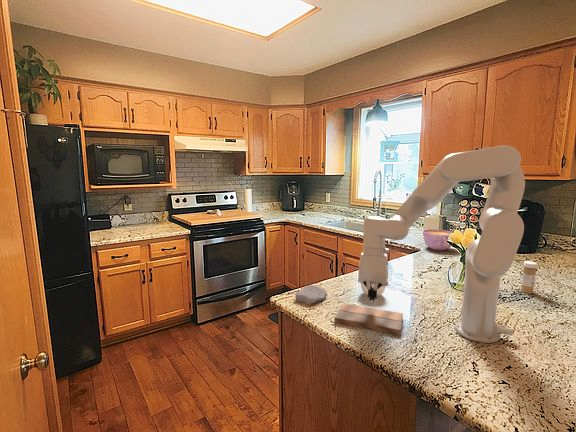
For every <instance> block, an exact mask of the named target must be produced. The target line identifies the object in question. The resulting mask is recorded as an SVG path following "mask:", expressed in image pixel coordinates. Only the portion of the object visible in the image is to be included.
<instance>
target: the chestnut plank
mask: <svg viewBox="0 0 576 432" xmlns="http://www.w3.org/2000/svg"><path fill="white" fill-rule="evenodd" d="M338 310H340V311H346V312H351V313H357V314H362V315H368V316H373V317H379V318H385V319H390V320H396V321H401V322H402V323H403V318H404V317H403V316H404V313H403V312H399V311H398V312H396V311H392V310H385V309H380V308H373V307H366V306H362V305H356V304H350V303H344V302H342V303H341V305H340V307H339V309H338Z"/></svg>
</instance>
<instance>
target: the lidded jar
mask: <svg viewBox="0 0 576 432" xmlns="http://www.w3.org/2000/svg"><path fill="white" fill-rule="evenodd" d="M374 285H375V282H371V286H372V288H373V287H374ZM386 287H387V286H381V287H380V288H379V289H377V298H380V296H381V295H382V294H384V292H385V290H386ZM360 288H361V291H362V292H363V294H365V296H367V297H368V289H367V287H366V286H365V285H364V284H362V283H360Z"/></svg>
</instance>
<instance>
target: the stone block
mask: <svg viewBox="0 0 576 432" xmlns="http://www.w3.org/2000/svg"><path fill="white" fill-rule="evenodd" d="M327 295H328V291H327V290H325V289H324V288H323V287H320V286H317V285H314V284H309V285H308V284H307V286H305V287H304V288H302V290H300V291H298V290H297V291H296V293H295V300H296V302H299V303H304V304H306V305H309V306H310V305H313V304H315V303H319V302H322V301H325V300H326V298H327Z"/></svg>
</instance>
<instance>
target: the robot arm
mask: <svg viewBox="0 0 576 432" xmlns="http://www.w3.org/2000/svg"><path fill="white" fill-rule="evenodd" d="M521 163H522V156H521V153H520V151H519V150H518V149H517V148H515V147H514V146H511V145H508V144H507V145H496V146H492V147H491V146H490V147H485V148H480V149H474V150H469V151H462V152H455V153H454V152H453V153H450V154H448V155H446V156H444V158H442V159H441V160H440V161H439V163H437V164H436V166H434V168H433V169H432V170H431V171H430V172H429V173H428V175H427V176H426V177H425V178H424V179H423V180H422V182H421V181H420V183H419V184H418V185H417V186H416V187H415V189H414V190H413V191H412V192H411V194H410V196H409V197H408V198H407V199H406V200H405V201H404V202H403V203H402V204H401V205H400V206H399V208H398V209H397V210H396V211H395V212H394V213H393V214H392V216H390V217H389V218H386V219H385V218H384V217H383V216H379V215H378V216H376V215H368V216H365V217H364V219H363V237H362V238H363V239H362V240H363V242H362V252H361V253H360V257H359V263H358V279H357V282H358V283H360V284H361V283H362V284H364V285H365V286H366V287H367V289H368V296H367V298H368V299H369V301H372V302H374V301H375V299H377V298H378V297H377V289H379V288H380V287H381V286H386V287H387V286H388V285H389V281H388V279H389V261H388V254H387V253H390V248H387V247H386V239H387V240H392V241H402V240H404V239H406V237H407V236H408V234H409V231H410V228H411V227H412V226H413V225H414V224H415V223H416V222H417V221H418V220H419V219H420V218H421V217H422V216H423V215H424V214H425V213H427V212H428V211H429V210H432V209H434V208H435V207H436V206H438V204H440V203H441V202H442V200H444V198H445V197H446V196H448V194H449V193H450V192H452V190H453V189H454V188H455V187H456V186H457V185H458V184H459V183H460V182H469V181H476V180H477V181H478V180H479V181H480V180H483V179H489V181H490V188H489V190H488V194H487V198H486V200H485V204H484V206H483V209H482V211H481V214H480V216H479V220H478V225H479V228H480V230H481V231H482V232H481V234H480V237H479V238H477V239H474V240H472V241H471V242H470V243H469V244H468V246H467V247H466V249H465V268H464V269H465V270H464V271H465V272H464V284H463V285H464V286H463V295H462V307H461V316H460V317H461V318H460V321H456V323H455V324H454V329H455V331H456V333H458V334H459V335H460V336H463V337H464V338H466V339H468V340H470V341H473V342H477V343H484V344H494V343H496V342H498V341H500V338H501V334H502V335H508V336H513V335H514V330H513V329H512V328H507V326H506V325H504V324H498V323H497V322H496V320H497V310H498V301H499V292H500V284H501V283H500V282H501V277H503V276H504V275H505V274H507V273H508V271H509V270H510V268H511V266H512V265H513V262H514V260H515V258H516V255H517V252H518V249H519V247H520V244H521V242H522V239H523V236H524V231H525V224H524V221H523V219H522V217H521V216H520V214H518V212H519V209H520V206H521V204H522V200H523V196H524V193H525V189H526V188H525V187H526V180H525V174H524V172H523V169H522V167H521V166H520V165H521ZM371 282H375V285H374V287H373V288H372V286H371Z"/></svg>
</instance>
